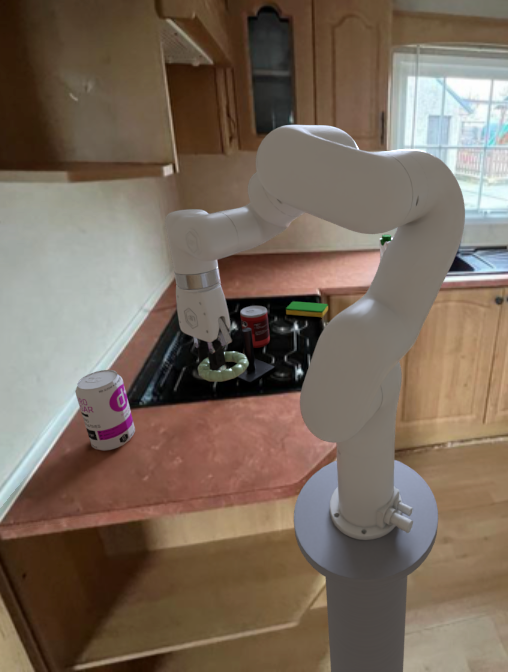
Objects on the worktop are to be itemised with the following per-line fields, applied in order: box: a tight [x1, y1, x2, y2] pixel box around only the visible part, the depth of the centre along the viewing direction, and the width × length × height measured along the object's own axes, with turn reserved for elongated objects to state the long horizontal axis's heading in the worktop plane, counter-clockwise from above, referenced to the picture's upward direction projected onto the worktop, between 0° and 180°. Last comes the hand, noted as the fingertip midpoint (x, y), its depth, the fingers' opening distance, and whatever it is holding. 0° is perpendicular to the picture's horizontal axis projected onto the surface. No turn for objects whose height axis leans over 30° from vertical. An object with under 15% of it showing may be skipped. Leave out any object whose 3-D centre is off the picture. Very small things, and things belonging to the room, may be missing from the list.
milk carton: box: [378, 234, 393, 261], centre depth 181 cm, size 9×9×20 cm
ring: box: [197, 351, 249, 382], centre depth 80 cm, size 9×9×2 cm
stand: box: [233, 328, 276, 387], centre depth 110 cm, size 9×9×13 cm
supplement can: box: [75, 369, 136, 451], centre depth 85 cm, size 8×8×15 cm
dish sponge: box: [285, 301, 329, 318], centre depth 150 cm, size 7×14×2 cm, turn 79°
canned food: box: [240, 305, 271, 349], centre depth 127 cm, size 8×8×11 cm
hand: (213, 364), depth 82 cm, fingers closed on ring, 2 cm apart
